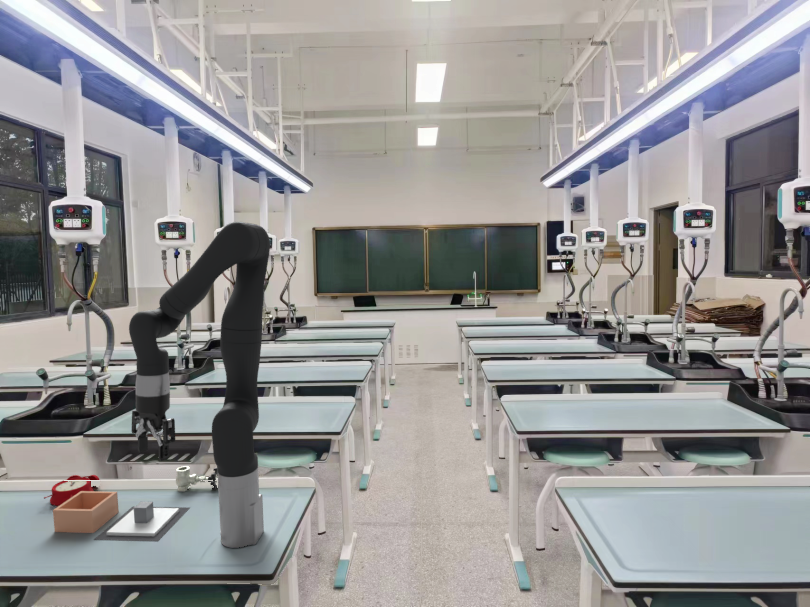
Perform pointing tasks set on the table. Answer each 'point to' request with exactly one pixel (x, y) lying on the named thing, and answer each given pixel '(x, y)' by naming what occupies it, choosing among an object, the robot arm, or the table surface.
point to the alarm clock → (70, 488)
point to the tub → (85, 512)
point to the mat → (143, 538)
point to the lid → (143, 520)
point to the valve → (193, 478)
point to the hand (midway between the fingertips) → (153, 455)
